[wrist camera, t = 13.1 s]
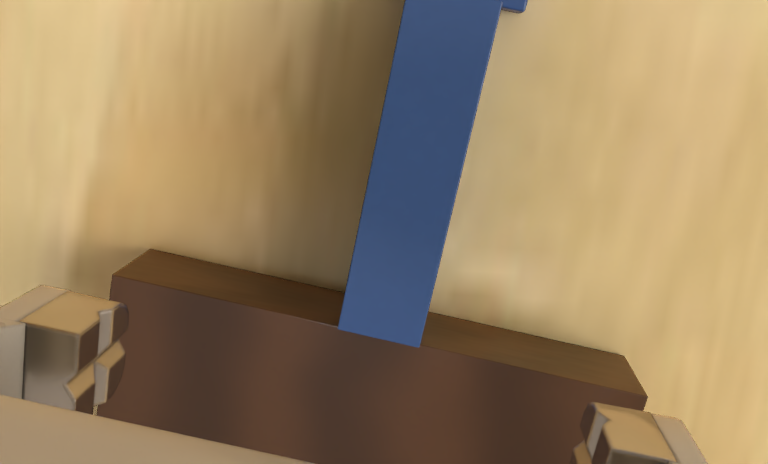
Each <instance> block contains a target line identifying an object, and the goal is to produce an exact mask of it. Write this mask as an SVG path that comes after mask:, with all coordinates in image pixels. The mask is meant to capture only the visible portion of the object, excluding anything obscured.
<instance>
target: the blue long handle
mask: <svg viewBox="0 0 768 464" xmlns="http://www.w3.org/2000/svg"><path fill="white" fill-rule="evenodd" d="M527 1H528V0H405V3H404V8H403V12H402V17H401V22H400V27H399V32H398V37H397V42H396V47H395V51H394V56H393V61H392V66H391V71H390V76H389V81H388V85H387V90H386V95H385V100H384V105H383V110H382V115H381V119H380V124H379V129H378V134H377V139H376V144H375V149H374V153H373V158H372V163H371V168H370V173H369V178H368V183H367V188H366V192H365V197H364V202H363V207H362V212H361V217H360V222H359V226H358V231H357V236H356V241H355V246H354V251H353V256H352V260H351V265H350V270H349V275H348V280H347V285H346V290H345V294H344V299H343V304H342V309H341V314H340V319H339V324H338V329H339V330H343V331H347V332H352V333H356V334H360V335H365V336H369V337H373V338H378V339H382V340H387V341H391V342H395V343H400V344H404V345H408V346H413V347H417V348H419V347H420V343H421V339H422V335H423V331H424V326H425V322H426V318H427V314H428V310H429V306H430V302H431V297H432V293H433V289H434V285H435V281H436V277H437V273H438V268H439V264H440V260H441V256H442V252H443V248H444V244H445V239H446V235H447V231H448V227H449V223H450V219H451V215H452V210H453V206H454V202H455V198H456V194H457V190H458V186H459V181H460V177H461V173H462V169H463V165H464V161H465V157H466V152H467V148H468V144H469V140H470V136H471V132H472V128H473V123H474V119H475V115H476V111H477V107H478V103H479V99H480V94H481V90H482V86H483V82H484V78H485V74H486V70H487V65H488V61H489V57H490V53H491V49H492V45H493V41H494V36H495V32H496V28H497V24H498V20H499V16H500V12H501V10H506V11H511V12H515V13H522V12H524V11H525V9H526V5H527Z"/></svg>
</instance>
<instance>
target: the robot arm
mask: <svg viewBox="0 0 768 464" xmlns="http://www.w3.org/2000/svg"><path fill="white" fill-rule="evenodd" d="M128 320H129V311H128V308H127V306H126V304H124V303H120V302H115V301H111V300H106V299H102V298H98V297H93V296H89V295H85V294H80V293H76V292H71V291H70V290H66V289H61V288H55V287H50V286H44V285H40V286H38V287H36V288H34V289H32V290H31V291H29V292H27V293H25V294H23V295H22V296H20V297H18V298H16V299H15V300H13V301H11V302H9V303H7V304H6V305H4V306H2V307H0V464H315V463H311V462H306V461H301V460H297V459H292V458H288V457H283V456H279V455H274V454H270V453H265V452H260V451H256V450H251V449H247V448H242V447H238V446H233V445H229V444H224V443H219V442H215V441H210V440H206V439H201V438H197V437H192V436H188V435H183V434H178V433H174V432H169V431H165V430H160V429H156V428H151V427H147V426H142V425H137V424H133V423H128V422H124V421H119V420H115V419H110V418H106V417H101V416H96V415H93V406H97V405H100V404H103V403H106V402H107V401H108V400H109V399H110V398H111V396H112V395H113V394H114V393H115V391H116V389H117V387H118V385H119V383H120V381H121V378H122V374H123V370H124V366H125V357H126V352H125V350H124V348H123V346H122V345H121V343H120V341H119V338H120V337H121V336H122V335H123V334H124V333H125V332H126V331H127V330H128ZM580 428H581V431H582V434H583V438H584V440H583V441H582V442H581V443H580V444H578V445H577V446H576V447H574V448H573V451H572V455H571V459H570V463H569V464H708V463H707V461H706V459H705V458H704V456H703V455H702V453H701V451H700V450H699V448H698V446H697V445H696V443H695V441H694V440H693V438H692V437H691V435H690V433H689V432H688V430H687V428H686V427H685V425H684V423H683V422H682V420H679V419H677V418H673V417H668V416H662V415H656V414H651V413H650V412H644V411H639V410H634V409H628V408H623V407H618V406H612V405H607V404H602V403H596V402H591V403H588V404H587V406H586V409H585V411H584V413H583V416H582V420H581V423H580Z"/></svg>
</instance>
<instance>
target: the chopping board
mask: <svg viewBox="0 0 768 464" xmlns="http://www.w3.org/2000/svg"><path fill="white" fill-rule="evenodd" d="M344 294H345V293H343V292H338V291H334V290H329V289H325V288H321V287H316V286H312V285H307V284H303V283H298V282H294V281H290V280H285V279H281V278H276V277H272V276H268V275H263V274H259V273H254V272H250V271H245V270H241V269H237V268H232V267H228V266H223V265H219V264H214V263H210V262H206V261H201V260H197V259H192V258H188V257H183V256H179V255H175V254H170V253H166V252H161V251H157V250H153V249H149V250H148V251H147V252H145V253H144V254H142V255H141V256H139V257H138V258H136V259H135V260H133V261H132V262H130V263H129V264H128V265H126V266H125V267H123V268H122V269H120V270H119V271H117V272H116V273H114V274H113V275H112V281H111V290H110V299H109V300H111V301H115V302H120V303H124V304H126V306H127V308H128V311H129V320H128V330H127V331H126V332H125V333H124V334H123V335H122V336H121V337H120V338H119V341H120V343H121V345H122V346H123V348H124V350H125V352H126V357H125V366H124V370H123V374H122V378H121V381H120V383H119V385H118V387H117V389H116V391H115V393H114V394H113V395H112V396H111V398H110V399H109V400H108V401H107V402H106V403H103V404H100V405H98V409H97V416H101V417H106V418H110V419H115V420H119V421H124V422H128V423H133V424H137V425H142V426H147V427H151V428H156V429H160V430H165V431H169V432H174V433H178V434H183V435H188V436H192V437H197V438H201V439H206V440H210V441H215V442H219V443H224V444H229V445H233V446H238V447H242V448H247V449H251V450H256V451H260V452H265V453H270V454H274V455H279V456H283V457H288V458H292V459H297V460H301V461H306V462H311V463H315V464H569V463H570V459H571V455H572V451H573V448H574V447H576V446H577V445H578V444H580V443H581V442H582V441H583V440H584V438H583V434H582V431H581V428H580V423H581V420H582V416H583V413H584V411H585V409H586V406H587V404H588V403H591V402H596V403H602V404H607V405H612V406H618V407H623V408H628V409H634V410H639V411H643V410H644V407H645V404H646V401H647V398H648V396H647V395H646V393H645V391H644V389H643V388H642V386H641V384H640V382H639V381H638V379H637V377H636V376H635V374H634V372H633V370H632V369H631V367H630V365H629V363H628V362H627V360H626V358H625V357H624V356H621V355H617V354H613V353H608V352H604V351H599V350H595V349H590V348H586V347H582V346H577V345H573V344H568V343H564V342H559V341H555V340H551V339H546V338H542V337H537V336H533V335H528V334H524V333H520V332H515V331H511V330H506V329H502V328H498V327H493V326H489V325H484V324H480V323H475V322H471V321H467V320H462V319H458V318H453V317H449V316H444V315H440V314H436V313H431V312H428V314H427V318H426V322H425V326H424V331H423V335H422V339H421V343H420V347H419V348H417V347H413V346H408V345H404V344H400V343H395V342H391V341H387V340H382V339H378V338H373V337H369V336H365V335H360V334H356V333H352V332H347V331H343V330H339V329H338V324H339V319H340V314H341V309H342V304H343V299H344Z"/></svg>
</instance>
